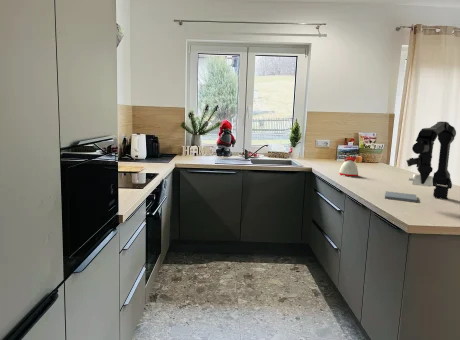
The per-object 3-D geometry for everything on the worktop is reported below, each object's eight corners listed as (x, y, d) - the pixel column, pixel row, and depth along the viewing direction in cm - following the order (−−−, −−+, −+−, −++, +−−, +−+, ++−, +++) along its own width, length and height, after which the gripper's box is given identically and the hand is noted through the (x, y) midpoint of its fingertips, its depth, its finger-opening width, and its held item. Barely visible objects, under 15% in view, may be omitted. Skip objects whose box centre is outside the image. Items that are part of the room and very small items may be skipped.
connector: (431, 185, 189) (432, 176, 188) (432, 186, 185) (433, 177, 185) (408, 183, 193) (409, 174, 193) (408, 184, 190) (409, 174, 189)
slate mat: (415, 196, 209) (415, 194, 209) (417, 202, 195) (417, 199, 194) (385, 193, 215) (385, 191, 215) (384, 198, 201) (385, 196, 201)
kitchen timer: (359, 177, 274) (361, 157, 272) (340, 176, 276) (342, 156, 274) (356, 174, 288) (357, 155, 285) (338, 173, 290) (339, 154, 288)
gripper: (407, 150, 198) (404, 179, 201) (409, 153, 181) (405, 184, 184) (431, 152, 194) (427, 181, 196) (434, 155, 177) (430, 186, 179)
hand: (422, 183), depth 189 cm, fingers closed on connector, 4 cm apart
